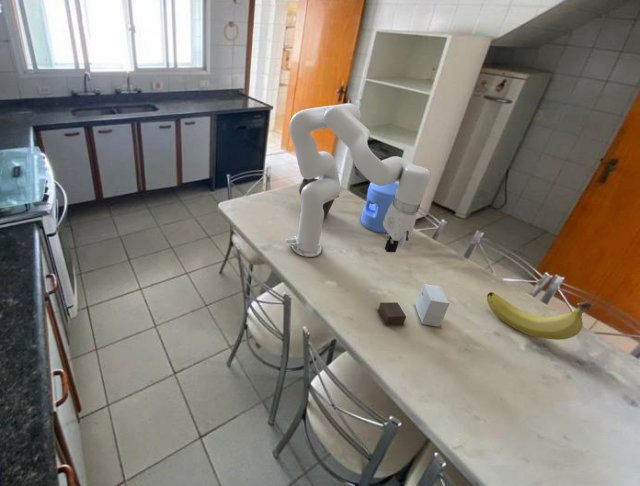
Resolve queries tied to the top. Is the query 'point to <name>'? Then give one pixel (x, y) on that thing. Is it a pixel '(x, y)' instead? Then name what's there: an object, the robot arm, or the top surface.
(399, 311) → the walnut block
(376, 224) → the water jug
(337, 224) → the top surface
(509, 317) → the banana
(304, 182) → the case
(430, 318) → the small box
